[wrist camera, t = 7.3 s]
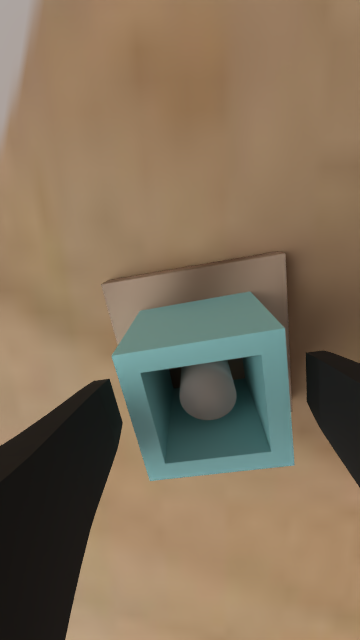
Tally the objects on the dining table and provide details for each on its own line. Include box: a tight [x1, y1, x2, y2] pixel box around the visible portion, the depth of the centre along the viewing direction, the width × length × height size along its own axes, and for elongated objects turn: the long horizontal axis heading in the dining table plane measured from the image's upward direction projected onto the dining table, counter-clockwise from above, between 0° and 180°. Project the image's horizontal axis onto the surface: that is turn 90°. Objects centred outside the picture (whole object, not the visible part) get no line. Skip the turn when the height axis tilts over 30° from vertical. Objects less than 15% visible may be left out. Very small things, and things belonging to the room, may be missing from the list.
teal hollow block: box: [112, 292, 294, 481], centre depth 10 cm, size 5×5×4 cm
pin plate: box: [101, 251, 292, 420], centre depth 11 cm, size 8×8×4 cm
